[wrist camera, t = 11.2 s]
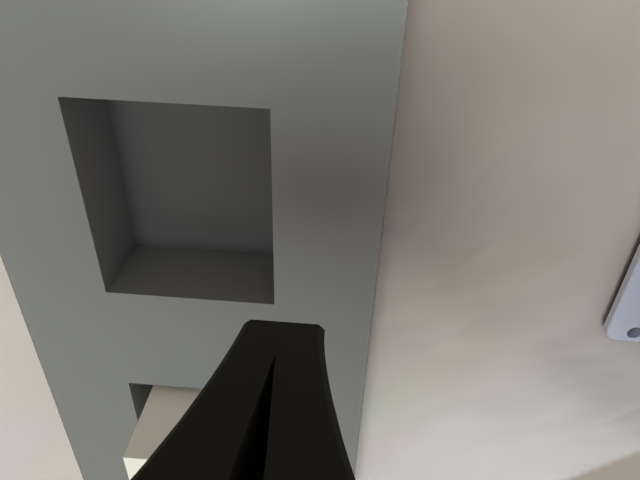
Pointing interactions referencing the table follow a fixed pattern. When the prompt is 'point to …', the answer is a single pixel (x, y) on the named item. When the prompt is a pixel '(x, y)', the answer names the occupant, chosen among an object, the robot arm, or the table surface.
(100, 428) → the socket board
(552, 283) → the table surface
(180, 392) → the plug
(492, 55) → the table surface
